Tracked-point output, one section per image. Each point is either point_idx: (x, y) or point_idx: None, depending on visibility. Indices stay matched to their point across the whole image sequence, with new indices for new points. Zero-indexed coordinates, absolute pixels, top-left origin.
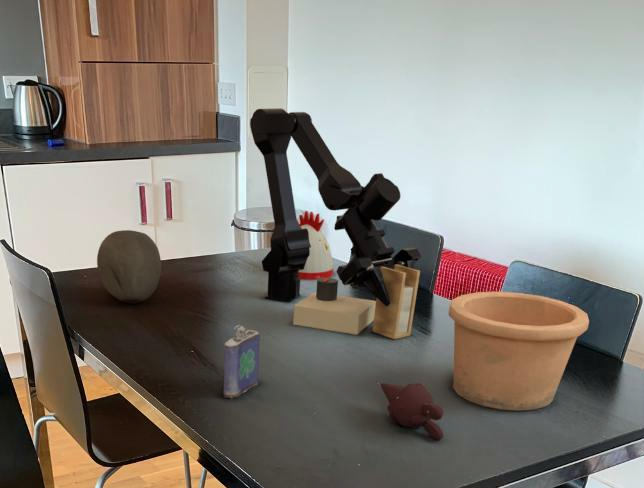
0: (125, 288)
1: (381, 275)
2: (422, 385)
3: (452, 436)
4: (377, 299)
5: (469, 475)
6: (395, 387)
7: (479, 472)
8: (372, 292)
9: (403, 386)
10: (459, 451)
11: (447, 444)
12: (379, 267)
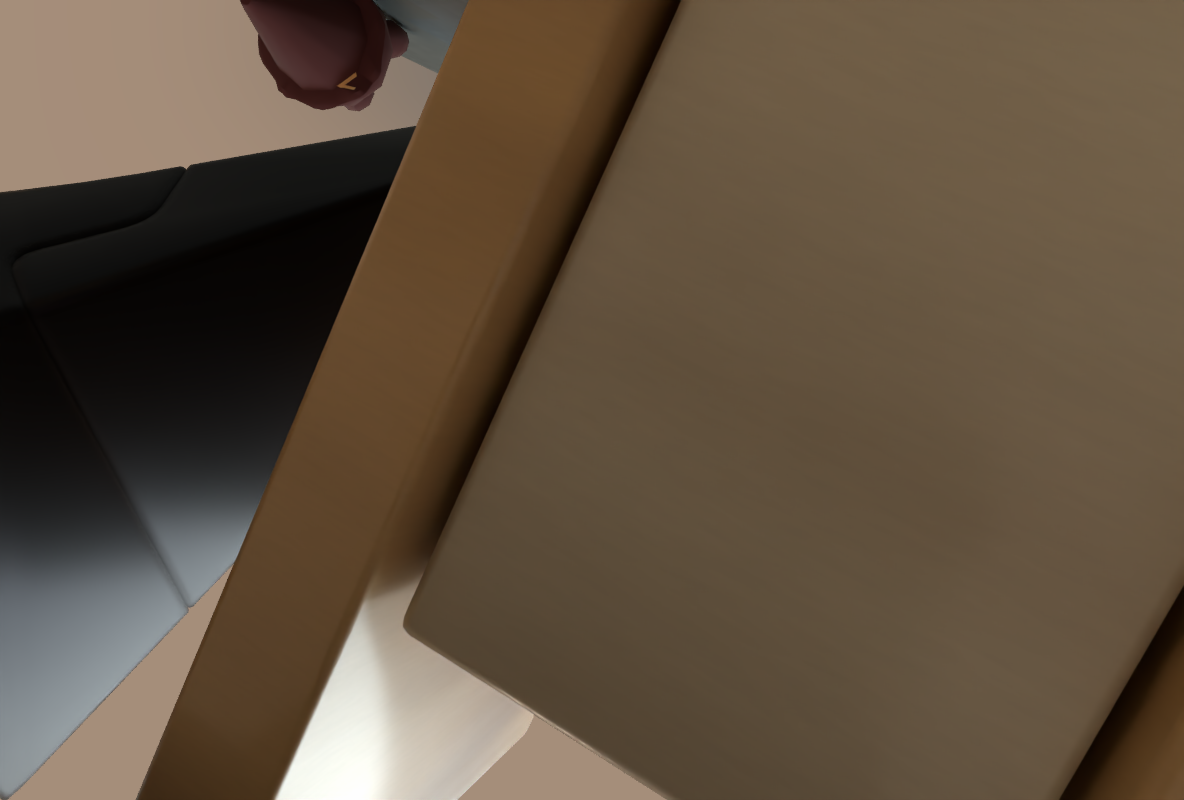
0: None
1: (147, 615)
2: (335, 105)
3: (446, 48)
4: (487, 33)
5: (413, 58)
6: (268, 48)
7: (435, 69)
8: (125, 205)
9: (287, 69)
10: (432, 53)
11: (418, 39)
12: (20, 768)
